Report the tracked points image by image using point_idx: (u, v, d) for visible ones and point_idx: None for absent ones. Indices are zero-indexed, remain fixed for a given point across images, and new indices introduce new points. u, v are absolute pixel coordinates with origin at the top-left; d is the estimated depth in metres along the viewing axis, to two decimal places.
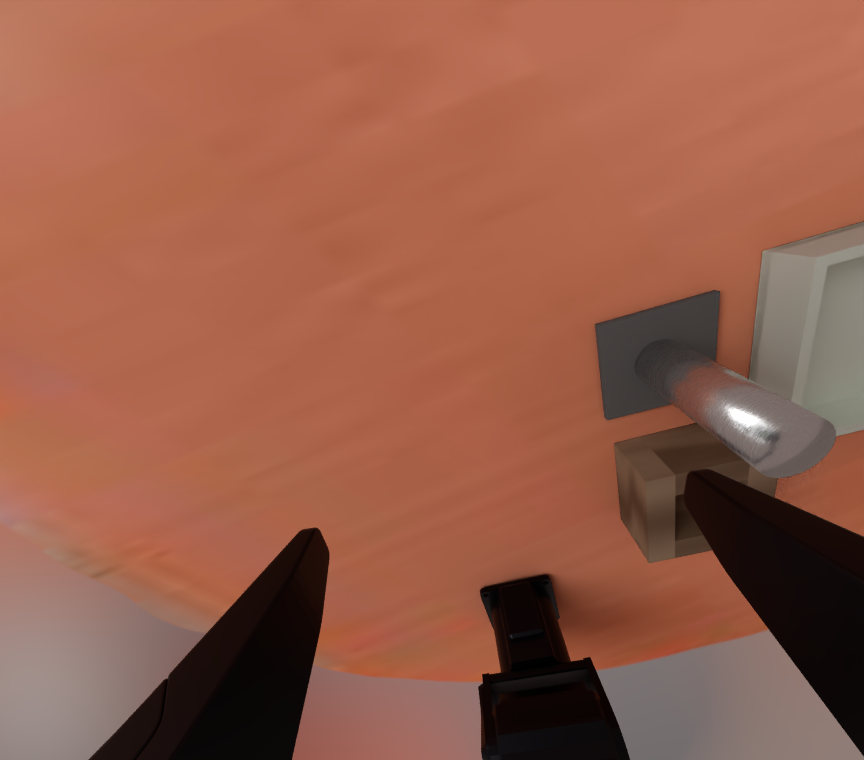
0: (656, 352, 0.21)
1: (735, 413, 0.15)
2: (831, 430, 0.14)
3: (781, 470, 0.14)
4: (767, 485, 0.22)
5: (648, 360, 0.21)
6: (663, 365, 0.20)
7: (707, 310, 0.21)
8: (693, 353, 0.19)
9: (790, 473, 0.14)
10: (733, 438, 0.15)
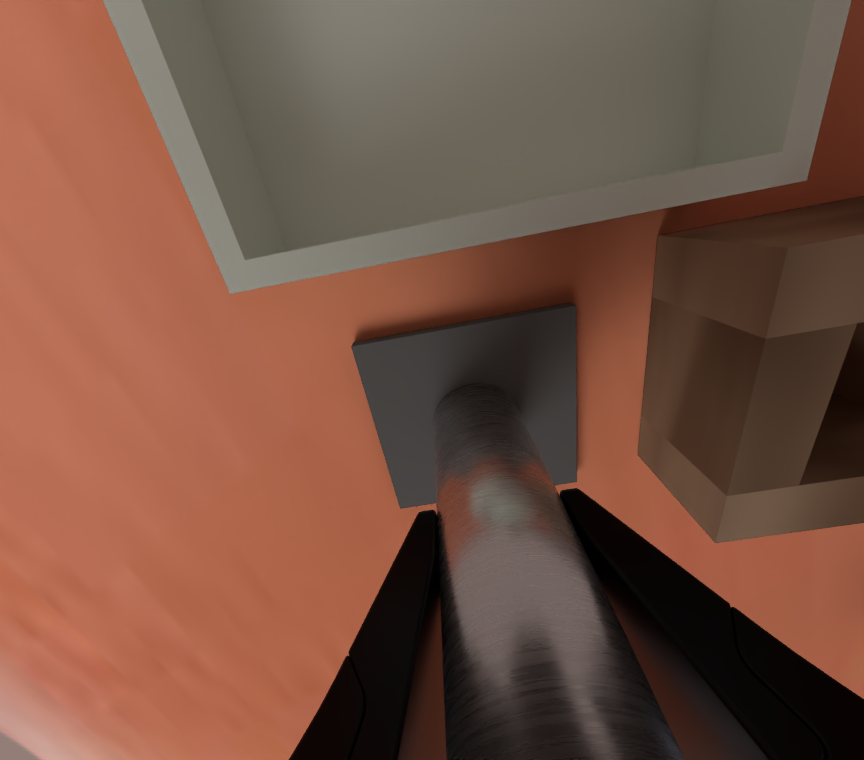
0: None
1: None
2: None
3: None
4: None
5: None
6: None
7: (385, 360, 0.11)
8: (435, 462, 0.10)
9: None
10: None
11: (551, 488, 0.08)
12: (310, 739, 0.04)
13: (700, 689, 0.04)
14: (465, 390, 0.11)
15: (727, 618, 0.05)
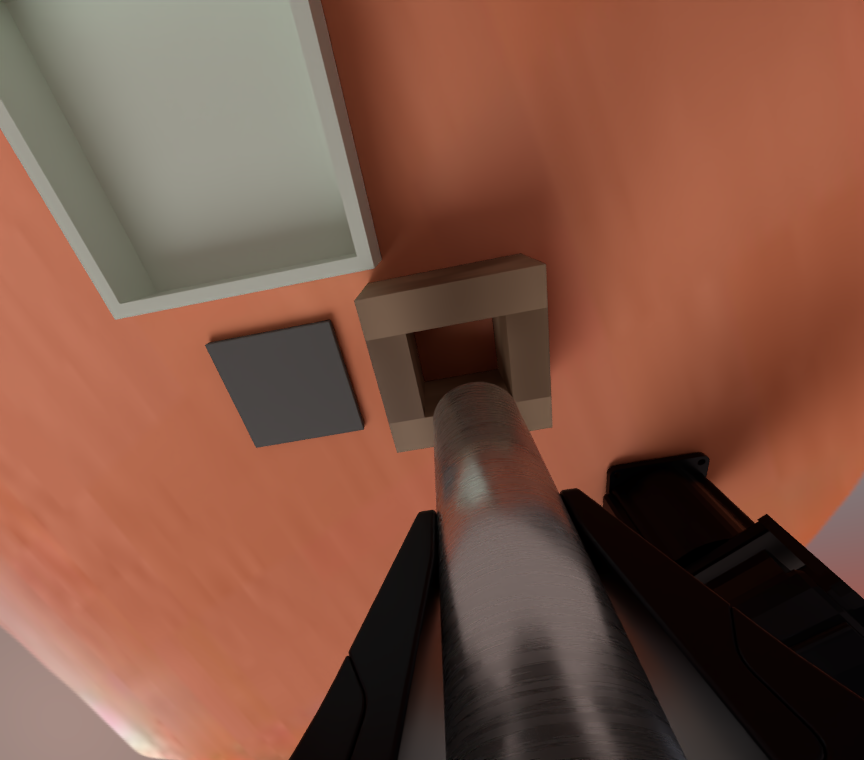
0: None
1: None
2: None
3: None
4: (422, 300, 0.15)
5: None
6: None
7: (226, 353, 0.19)
8: (435, 461, 0.10)
9: None
10: None
11: (551, 487, 0.08)
12: (310, 739, 0.04)
13: (700, 689, 0.04)
14: (465, 389, 0.11)
15: (727, 618, 0.05)
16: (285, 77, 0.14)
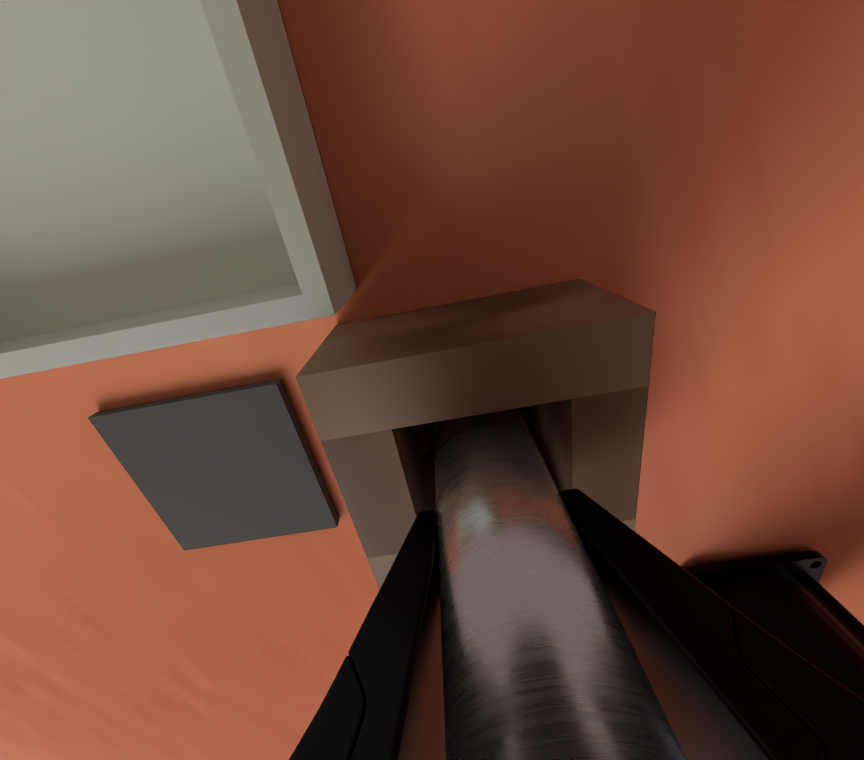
0: None
1: None
2: None
3: None
4: (420, 376, 0.08)
5: None
6: None
7: (122, 428, 0.13)
8: (435, 461, 0.10)
9: None
10: None
11: (551, 486, 0.08)
12: (310, 739, 0.04)
13: (700, 689, 0.04)
14: None
15: (727, 618, 0.05)
16: None
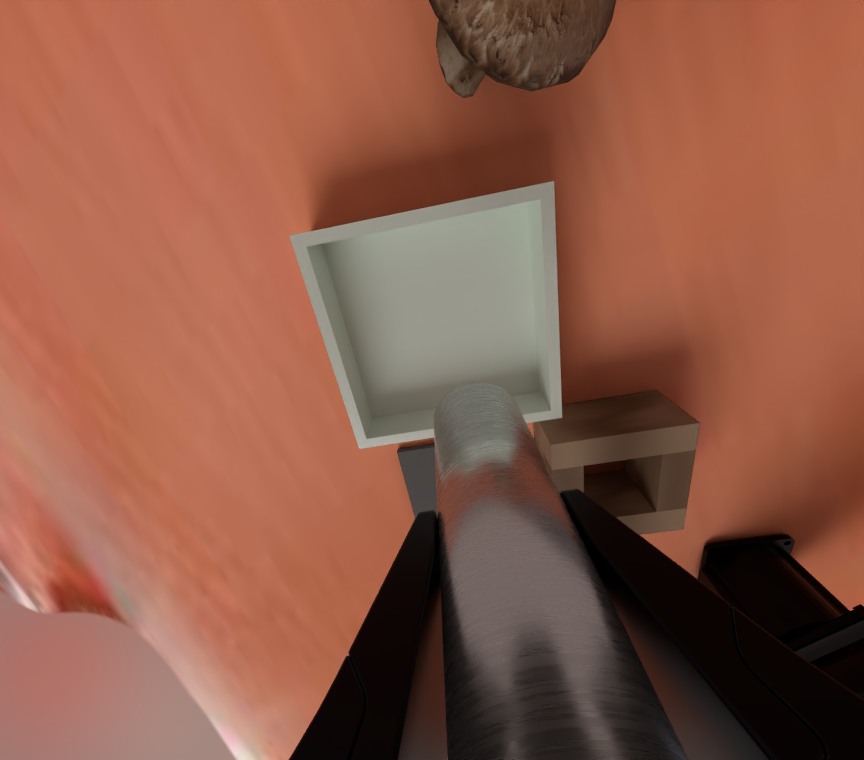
0: None
1: None
2: None
3: None
4: (601, 445, 0.19)
5: None
6: None
7: (412, 458, 0.24)
8: (436, 462, 0.10)
9: None
10: None
11: (553, 488, 0.08)
12: (310, 739, 0.04)
13: (700, 689, 0.04)
14: (466, 390, 0.11)
15: (727, 618, 0.05)
16: (506, 284, 0.19)
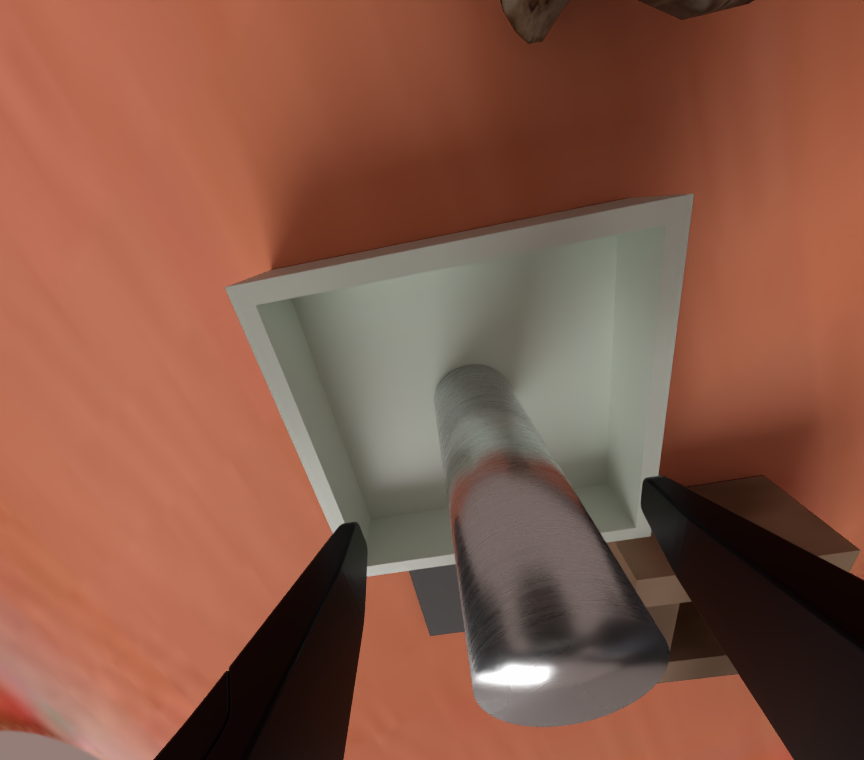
0: None
1: None
2: (532, 634, 0.05)
3: (636, 678, 0.05)
4: None
5: None
6: None
7: None
8: (439, 431, 0.11)
9: (658, 660, 0.05)
10: None
11: (542, 442, 0.09)
12: (165, 755, 0.04)
13: None
14: (463, 370, 0.12)
15: None
16: (572, 345, 0.13)
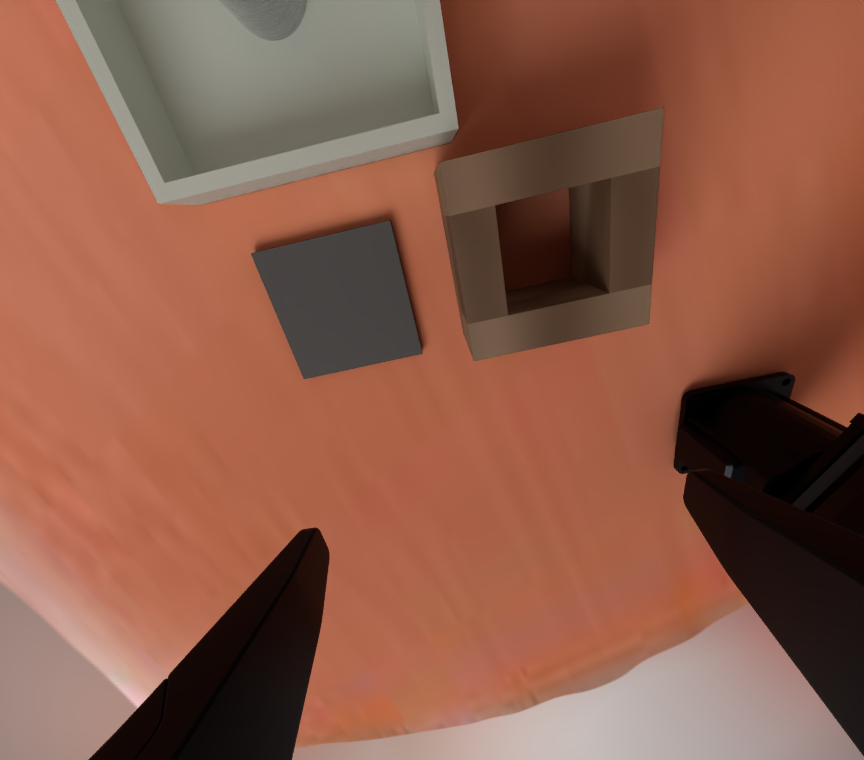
0: None
1: None
2: None
3: None
4: (517, 160, 0.13)
5: (243, 22, 0.12)
6: (219, 0, 0.11)
7: (274, 263, 0.17)
8: None
9: None
10: None
11: None
12: None
13: None
14: None
15: None
16: None
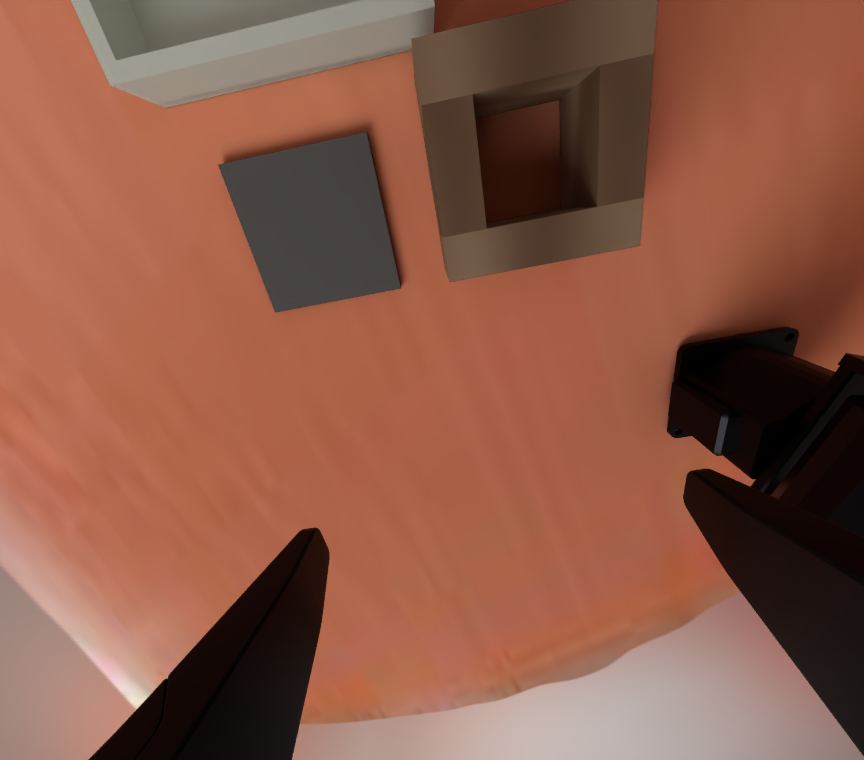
0: None
1: None
2: None
3: None
4: (496, 40, 0.12)
5: None
6: None
7: (243, 176, 0.16)
8: None
9: None
10: None
11: None
12: None
13: None
14: None
15: None
16: None
